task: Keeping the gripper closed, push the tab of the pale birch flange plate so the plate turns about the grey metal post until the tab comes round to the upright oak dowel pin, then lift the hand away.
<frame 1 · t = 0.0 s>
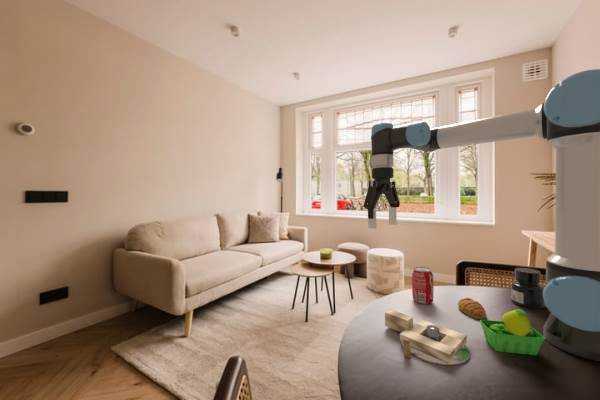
hand: (382, 226, 95), 28 cm above the table, tool pointing down, fingers open, 13 cm apart
dowel: (407, 356, 64), on the table
ink bottle: (527, 304, 92), on the table
soda can: (422, 301, 96), on the table
fruit basket: (511, 349, 66), on the table
pastry: (472, 313, 87), on the table
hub: (433, 345, 68), on the table
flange: (419, 329, 71), point 3 cm above the table, hinge at 0.0°
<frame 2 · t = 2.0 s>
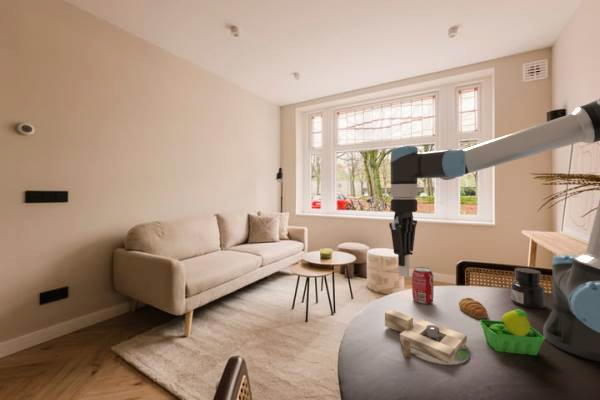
hand: (403, 275, 80), 15 cm above the table, tool pointing down, fingers closed
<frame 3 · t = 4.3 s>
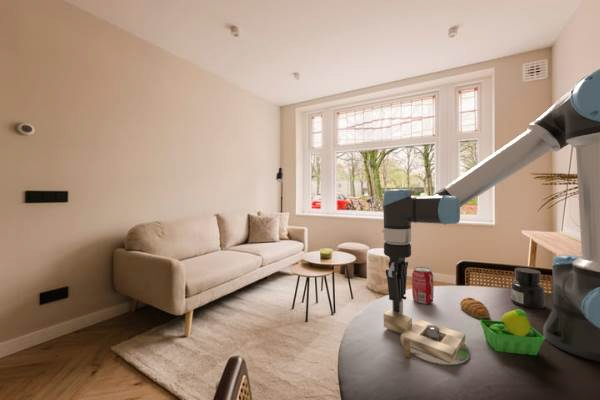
hand: (397, 321, 77), 2 cm above the table, tool pointing down, fingers closed
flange: (419, 329, 71), point 3 cm above the table, hinge at 4.1°, touching gripper
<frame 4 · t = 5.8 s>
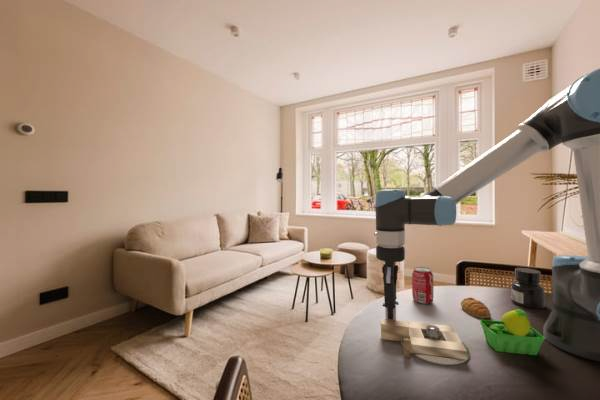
hand: (390, 328, 73), 2 cm above the table, tool pointing down, fingers closed
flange: (418, 332, 69), point 3 cm above the table, hinge at 33.4°, touching gripper
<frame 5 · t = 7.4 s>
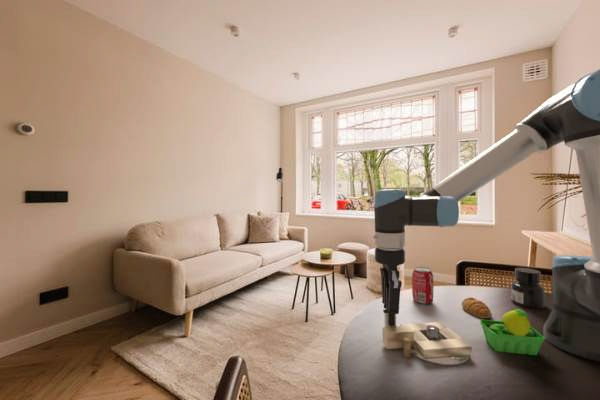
hand: (390, 334, 70), 2 cm above the table, tool pointing down, fingers closed
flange: (420, 335, 68), point 3 cm above the table, hinge at 53.9°
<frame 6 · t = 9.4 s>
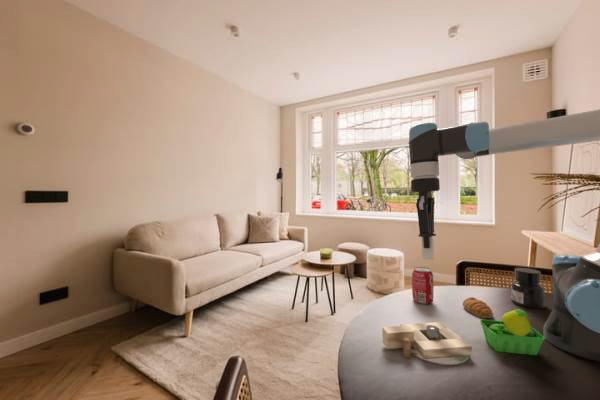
hand: (428, 258, 76), 21 cm above the table, tool pointing down, fingers closed
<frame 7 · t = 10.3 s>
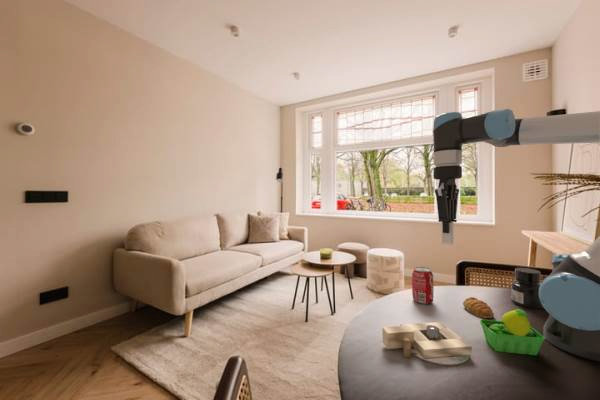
hand: (447, 243, 80), 24 cm above the table, tool pointing down, fingers closed
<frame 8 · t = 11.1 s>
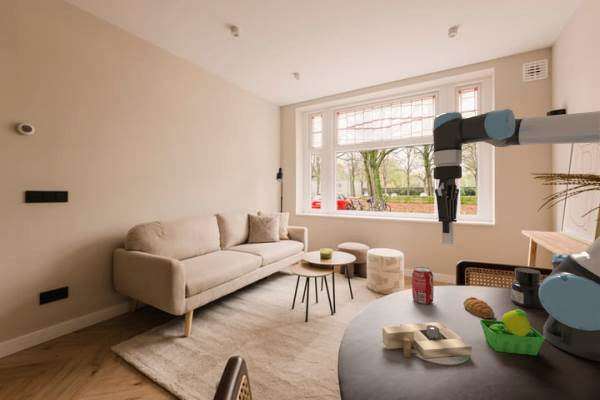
hand: (447, 243, 80), 24 cm above the table, tool pointing down, fingers closed
at the end: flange at +54° (first picture: +0°); the gripper is holding nothing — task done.
